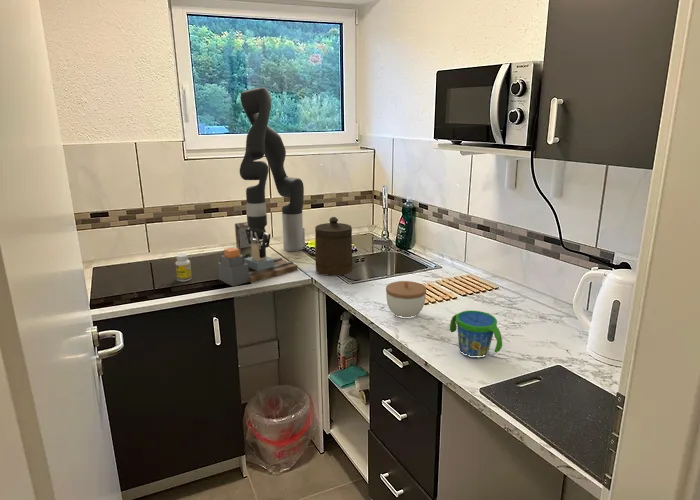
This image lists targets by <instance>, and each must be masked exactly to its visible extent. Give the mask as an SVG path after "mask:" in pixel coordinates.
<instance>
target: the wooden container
mask: <svg viewBox="0 0 700 500" xmlns="http://www.w3.org/2000/svg"><path fill="white" fill-rule="evenodd" d="M328 221H329V222H326V223H325V222H324V223H320V224H318V225H316V226H315V227H314V232H315V234H314V235H315V236H314V237H315V241H314V245H315V247H314V248H315V249H314V250H315V253H314V255H315V256H314V258H315V272H316V273H317V274H320V275H322V276H326V277H327V276H330V277H337V276H336V275H340V276H344V275H348V274H350V273H351V272H353V240H352V239H353V238H352V237H353V232H352V231H353V228H352V225H351V224H347V223H341V222H339V219H338V218H337V217H335V216H331V217H330V218H329V220H328Z"/></svg>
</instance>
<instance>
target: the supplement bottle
mask: <svg viewBox="0 0 700 500" xmlns="http://www.w3.org/2000/svg"><path fill="white" fill-rule="evenodd" d="M175 271H176V272H175V274H176V280H177V281H178V282H189V281H190V280H191V279H192V267H191V260H189V257H188V254H187V253H180V254H177V255H176V261H175Z"/></svg>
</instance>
